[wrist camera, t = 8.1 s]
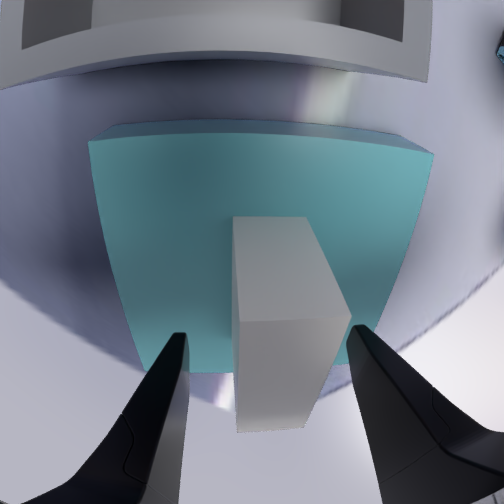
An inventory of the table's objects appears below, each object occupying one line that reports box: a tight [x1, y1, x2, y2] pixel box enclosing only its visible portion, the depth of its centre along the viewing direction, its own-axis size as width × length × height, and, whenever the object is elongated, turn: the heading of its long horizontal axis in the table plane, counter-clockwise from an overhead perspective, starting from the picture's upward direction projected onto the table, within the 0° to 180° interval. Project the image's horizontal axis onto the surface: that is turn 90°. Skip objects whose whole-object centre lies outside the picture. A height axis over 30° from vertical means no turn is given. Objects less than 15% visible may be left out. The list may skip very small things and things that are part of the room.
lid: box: [88, 119, 434, 433], centre depth 11 cm, size 11×11×7 cm
